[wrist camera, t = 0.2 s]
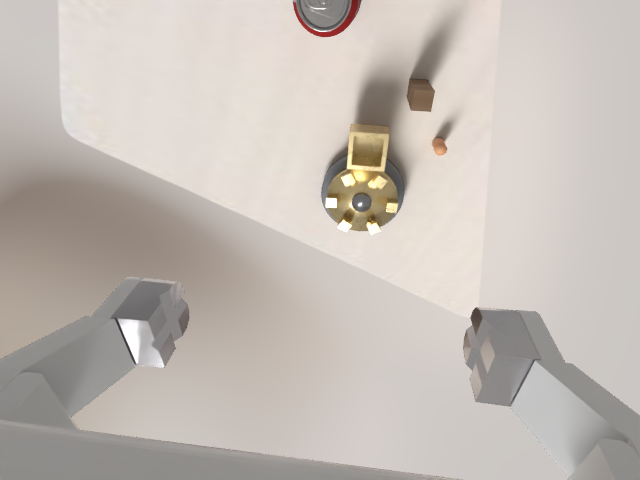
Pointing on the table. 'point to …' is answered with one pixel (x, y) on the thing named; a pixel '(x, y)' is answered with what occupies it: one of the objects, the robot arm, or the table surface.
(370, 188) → the rotary feeder
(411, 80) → the brown wooden peg
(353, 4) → the soda can
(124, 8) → the table surface
